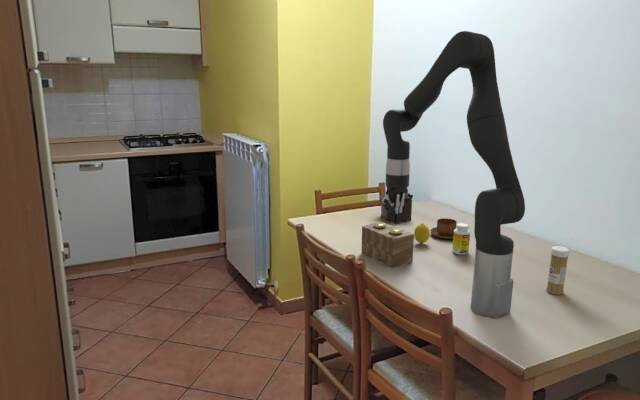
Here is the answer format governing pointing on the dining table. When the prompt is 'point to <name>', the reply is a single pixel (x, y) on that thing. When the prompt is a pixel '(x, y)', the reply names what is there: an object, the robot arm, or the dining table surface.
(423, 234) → the lemon
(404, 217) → the manual coffee grinder
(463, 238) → the supplement bottle
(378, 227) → the far peg
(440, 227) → the cup and saucer
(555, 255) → the sprinkles bottle
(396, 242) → the brown wooden block
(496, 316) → the robot arm
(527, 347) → the dining table surface
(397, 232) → the near peg
